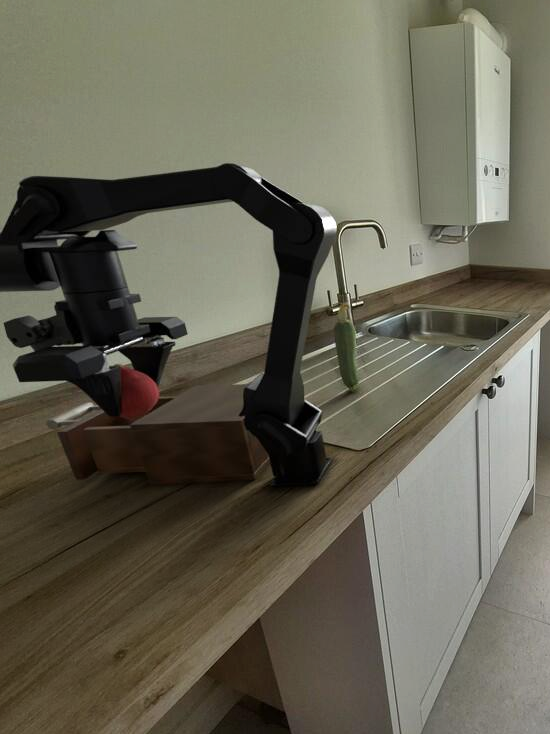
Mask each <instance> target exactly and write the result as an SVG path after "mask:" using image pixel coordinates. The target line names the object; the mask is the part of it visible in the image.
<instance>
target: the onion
mask: <svg viewBox="0 0 550 734" xmlns="http://www.w3.org/2000/svg"><path fill="white" fill-rule="evenodd" d="M113 366H121V403H122V404H121V415H120V417H124V418H127V419H129V420H139V419H141V418H142V417H143V416H144V415H145V414H147V413H148V412H149V411H150V410H151V409H152V408H153V406H154V405H155V404H156V403H157V401H158V398H159V397H160V388H159V386H158V387H157V385H156V383H155V382H154V381H153V380H152V379H151V378H150V377H149V376H147V375H146V374H144V373H142V372H139V371H137V370H134V368H133V369H132V368H130V367H128V366H125V365H123V364H121V363H116V364H114V365H113Z"/></svg>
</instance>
